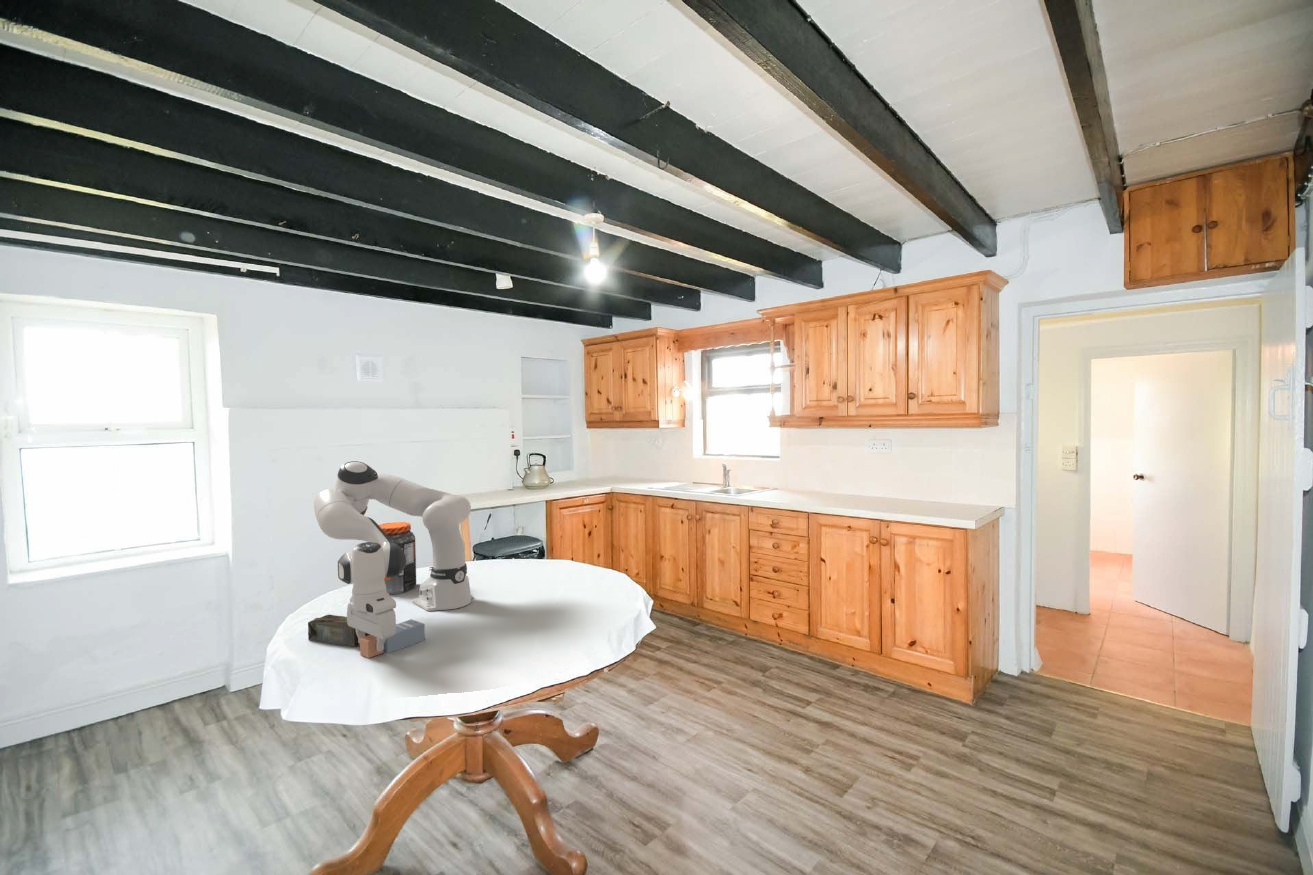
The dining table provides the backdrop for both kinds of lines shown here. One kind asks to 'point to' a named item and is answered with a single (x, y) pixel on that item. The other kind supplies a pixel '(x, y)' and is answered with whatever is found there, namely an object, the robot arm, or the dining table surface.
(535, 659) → the dining table surface
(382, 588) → the robot arm
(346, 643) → the beverage carton
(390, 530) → the supplement tub
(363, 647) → the stub
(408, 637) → the double-striped slate block
